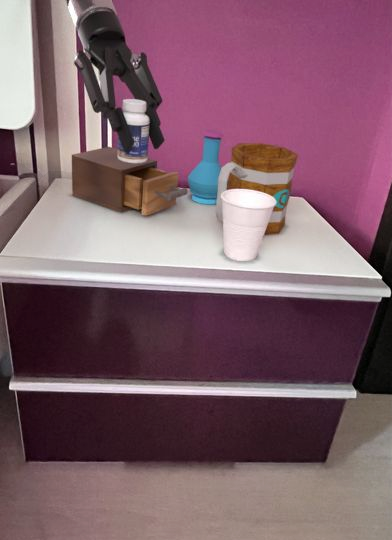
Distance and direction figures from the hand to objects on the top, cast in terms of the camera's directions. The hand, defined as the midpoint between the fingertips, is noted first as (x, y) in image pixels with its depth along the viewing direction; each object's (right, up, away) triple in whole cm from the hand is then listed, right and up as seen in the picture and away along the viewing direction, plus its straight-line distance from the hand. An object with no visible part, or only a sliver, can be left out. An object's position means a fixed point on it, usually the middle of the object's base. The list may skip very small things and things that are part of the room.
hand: (144, 145), depth 96 cm
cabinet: (-9, -1, +28) cm, 30 cm away
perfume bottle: (+11, 0, +34) cm, 36 cm away
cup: (+17, -17, +9) cm, 26 cm away
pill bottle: (-3, -1, +4) cm, 5 cm away
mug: (+19, -9, +22) cm, 30 cm away
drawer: (-2, -4, +24) cm, 24 cm away
